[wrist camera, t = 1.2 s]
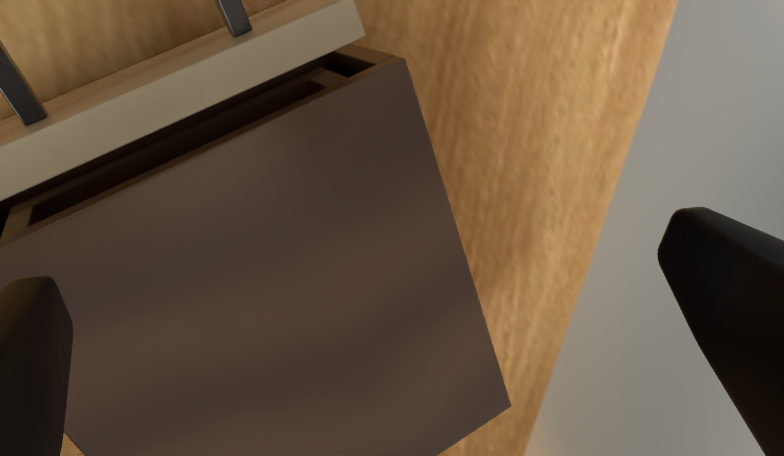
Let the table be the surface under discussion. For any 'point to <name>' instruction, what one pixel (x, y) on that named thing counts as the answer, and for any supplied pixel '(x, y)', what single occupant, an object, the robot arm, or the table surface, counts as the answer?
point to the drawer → (163, 101)
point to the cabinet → (272, 285)
